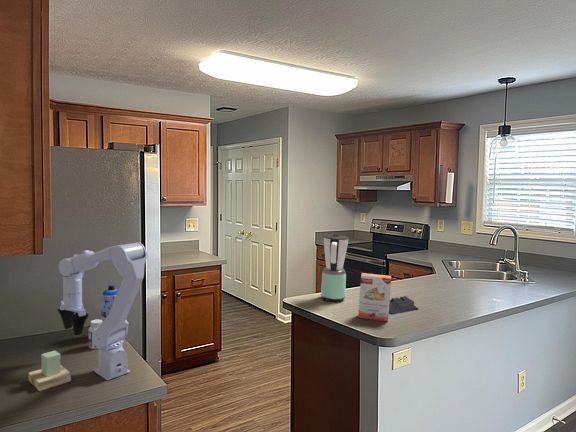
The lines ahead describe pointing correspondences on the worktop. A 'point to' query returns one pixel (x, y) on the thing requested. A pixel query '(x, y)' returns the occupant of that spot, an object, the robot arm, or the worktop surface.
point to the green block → (50, 363)
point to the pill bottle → (93, 327)
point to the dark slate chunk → (401, 305)
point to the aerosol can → (107, 301)
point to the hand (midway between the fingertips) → (73, 331)
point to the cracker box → (374, 297)
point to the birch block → (49, 379)
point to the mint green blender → (334, 268)
